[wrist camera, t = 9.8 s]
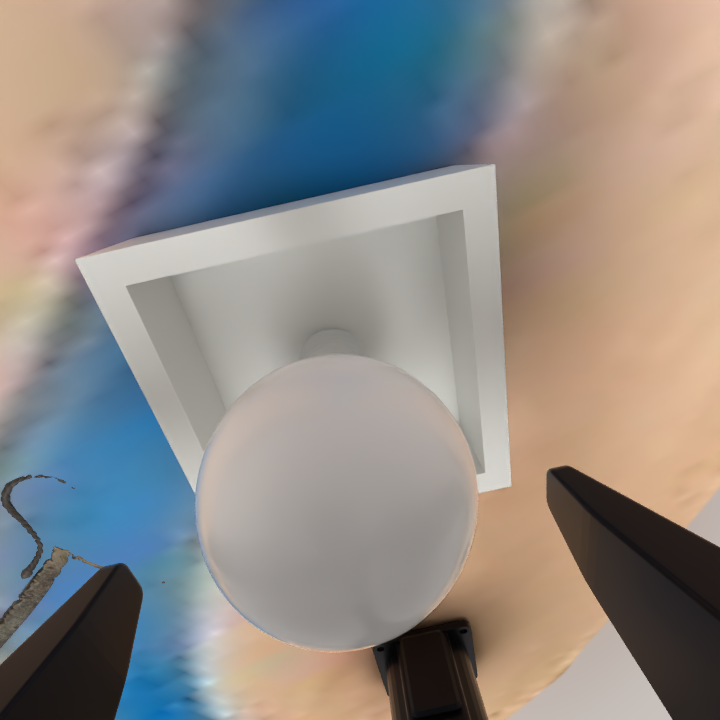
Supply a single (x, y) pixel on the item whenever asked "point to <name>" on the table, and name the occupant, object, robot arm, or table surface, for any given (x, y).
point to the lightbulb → (336, 500)
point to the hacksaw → (43, 578)
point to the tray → (319, 302)
